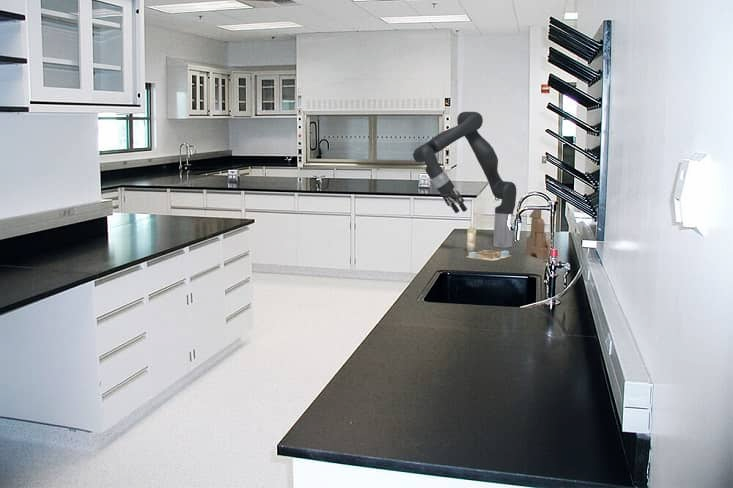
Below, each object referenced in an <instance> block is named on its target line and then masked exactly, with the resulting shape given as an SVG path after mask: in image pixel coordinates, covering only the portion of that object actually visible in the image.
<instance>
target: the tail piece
mask: <svg viewBox="0 0 733 488" xmlns="http://www.w3.org/2000/svg"><path fill="white" fill-rule="evenodd" d="M477 252H478V251H475V252H470V253H469V254H468V256H469V257H471V258H470V259H476V258H475V257H477ZM469 257H468V258H469Z"/></svg>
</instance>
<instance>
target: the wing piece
mask: <svg viewBox="0 0 733 488" xmlns="http://www.w3.org/2000/svg"><path fill="white" fill-rule="evenodd" d="M500 252H501V257H506V256H509V255H510V251H509V250H502V251H500ZM506 258H507V257H506Z"/></svg>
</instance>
